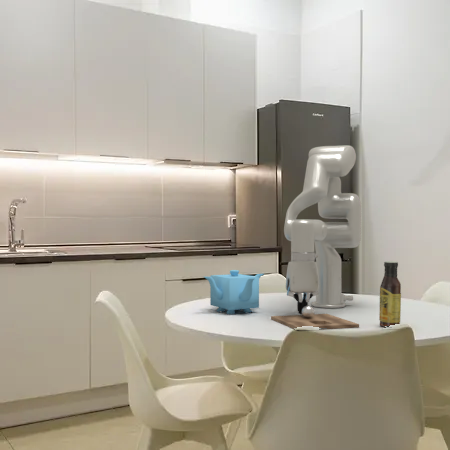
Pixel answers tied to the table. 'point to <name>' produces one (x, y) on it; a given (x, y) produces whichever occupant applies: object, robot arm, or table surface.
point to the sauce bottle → (390, 296)
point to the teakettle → (234, 291)
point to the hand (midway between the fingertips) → (302, 313)
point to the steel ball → (308, 311)
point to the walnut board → (315, 321)
